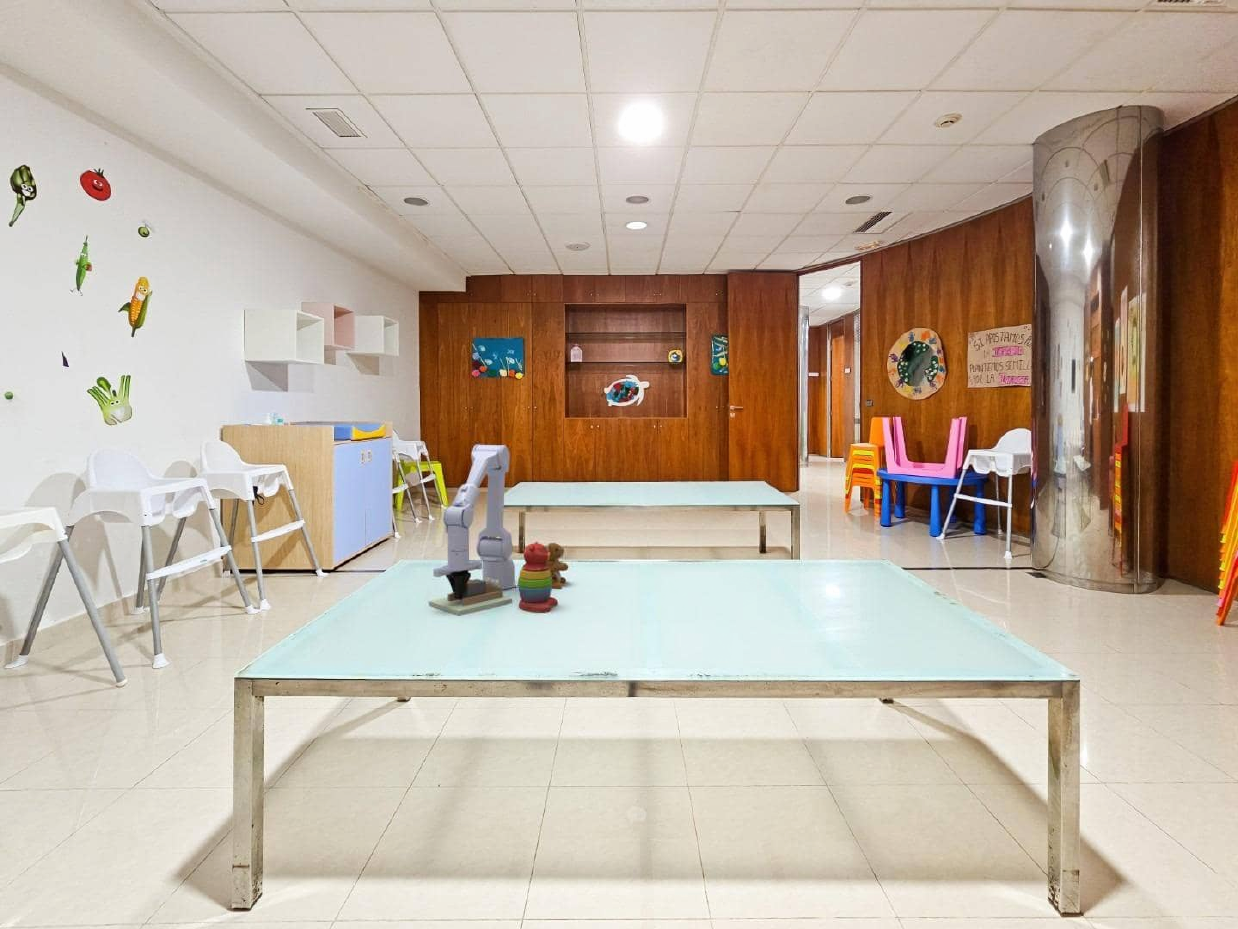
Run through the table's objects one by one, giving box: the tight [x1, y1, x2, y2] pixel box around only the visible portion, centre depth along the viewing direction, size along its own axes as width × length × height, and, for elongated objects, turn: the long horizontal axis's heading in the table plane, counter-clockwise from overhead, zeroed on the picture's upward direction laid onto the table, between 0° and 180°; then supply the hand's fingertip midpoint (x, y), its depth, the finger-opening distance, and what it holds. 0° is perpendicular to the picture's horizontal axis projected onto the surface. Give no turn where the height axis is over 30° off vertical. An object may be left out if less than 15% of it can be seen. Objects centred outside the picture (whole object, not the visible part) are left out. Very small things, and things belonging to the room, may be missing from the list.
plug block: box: [460, 578, 486, 601], centre depth 195 cm, size 6×4×6 cm, turn 138°
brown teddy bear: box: [544, 542, 569, 590], centre depth 219 cm, size 10×14×13 cm
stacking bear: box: [517, 541, 559, 613], centre depth 193 cm, size 11×10×18 cm
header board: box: [428, 578, 513, 616], centre depth 195 cm, size 18×14×6 cm
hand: (458, 598), depth 192 cm, fingers closed
